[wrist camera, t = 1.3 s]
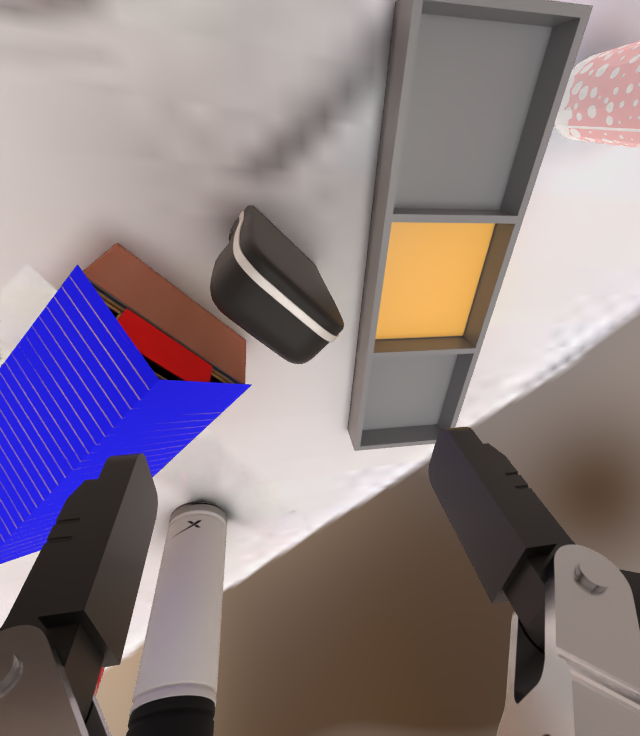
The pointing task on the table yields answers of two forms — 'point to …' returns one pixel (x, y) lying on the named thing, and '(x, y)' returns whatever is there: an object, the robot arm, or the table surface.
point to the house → (105, 388)
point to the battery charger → (274, 290)
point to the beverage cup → (604, 99)
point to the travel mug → (183, 629)
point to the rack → (451, 198)
